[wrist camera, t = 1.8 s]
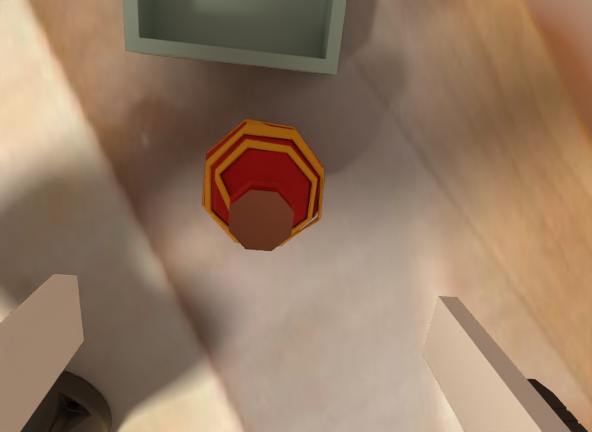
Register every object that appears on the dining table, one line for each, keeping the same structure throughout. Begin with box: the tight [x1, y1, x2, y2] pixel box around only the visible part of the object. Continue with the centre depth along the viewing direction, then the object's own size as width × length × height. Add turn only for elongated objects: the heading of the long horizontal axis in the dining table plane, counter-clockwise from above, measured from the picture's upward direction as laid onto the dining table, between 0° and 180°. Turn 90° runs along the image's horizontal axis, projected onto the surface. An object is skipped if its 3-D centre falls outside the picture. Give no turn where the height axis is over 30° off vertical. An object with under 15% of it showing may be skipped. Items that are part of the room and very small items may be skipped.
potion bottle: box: [202, 119, 325, 251], centre depth 30 cm, size 10×10×15 cm
